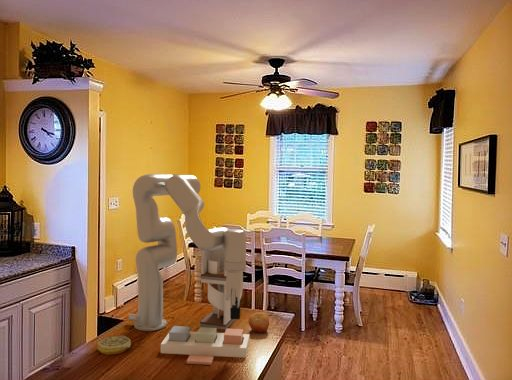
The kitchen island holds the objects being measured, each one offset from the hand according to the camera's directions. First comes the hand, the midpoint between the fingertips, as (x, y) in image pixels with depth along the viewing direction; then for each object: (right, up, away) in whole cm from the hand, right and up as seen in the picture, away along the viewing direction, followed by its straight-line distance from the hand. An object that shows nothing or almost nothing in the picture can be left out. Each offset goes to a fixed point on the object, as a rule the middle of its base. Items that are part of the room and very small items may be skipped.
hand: (235, 318), depth 147 cm
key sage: (-10, -8, +1) cm, 13 cm away
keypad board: (-10, -11, +2) cm, 15 cm away
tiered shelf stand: (-8, -10, +25) cm, 29 cm away
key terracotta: (-1, -8, +1) cm, 8 cm away
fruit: (+8, -11, +18) cm, 23 cm away
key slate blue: (-20, -8, +2) cm, 21 cm away
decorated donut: (-42, -11, -1) cm, 43 cm away
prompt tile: (-11, -11, -8) cm, 18 cm away
